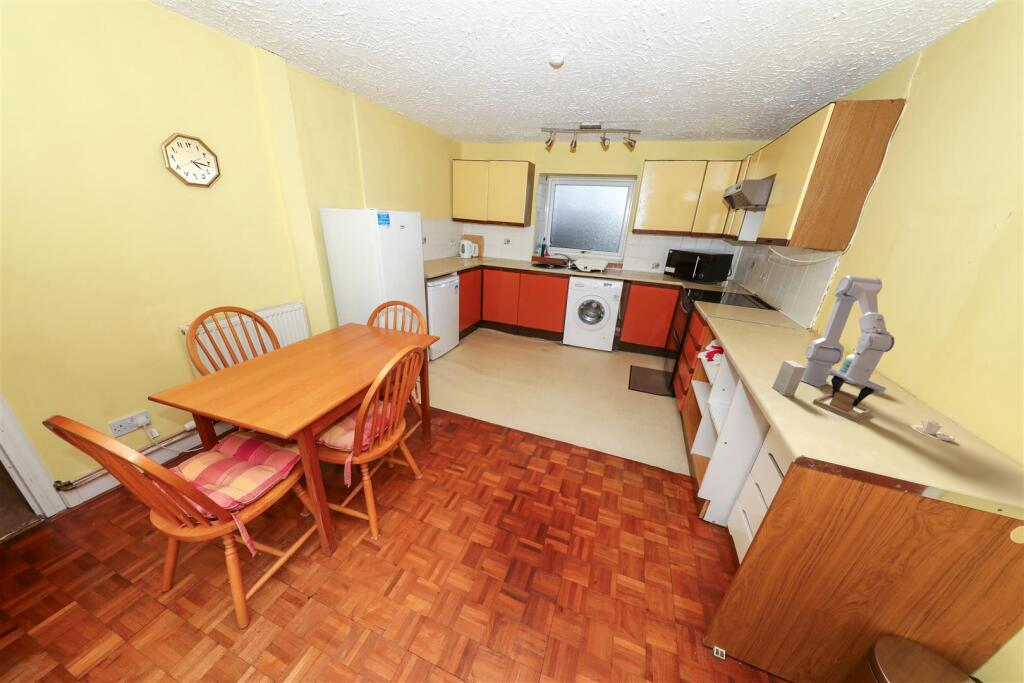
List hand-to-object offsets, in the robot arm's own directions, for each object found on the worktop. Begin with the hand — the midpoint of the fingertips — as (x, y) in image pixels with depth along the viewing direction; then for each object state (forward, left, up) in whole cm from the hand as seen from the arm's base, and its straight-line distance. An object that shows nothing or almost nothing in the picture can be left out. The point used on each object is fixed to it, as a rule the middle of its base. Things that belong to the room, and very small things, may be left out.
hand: (844, 401), depth 115 cm
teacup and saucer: (-8, +20, -4) cm, 22 cm away
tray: (0, 0, -3) cm, 3 cm away
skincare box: (+7, -15, -3) cm, 17 cm away
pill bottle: (-34, -9, -3) cm, 35 cm away
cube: (0, 0, -2) cm, 2 cm away
